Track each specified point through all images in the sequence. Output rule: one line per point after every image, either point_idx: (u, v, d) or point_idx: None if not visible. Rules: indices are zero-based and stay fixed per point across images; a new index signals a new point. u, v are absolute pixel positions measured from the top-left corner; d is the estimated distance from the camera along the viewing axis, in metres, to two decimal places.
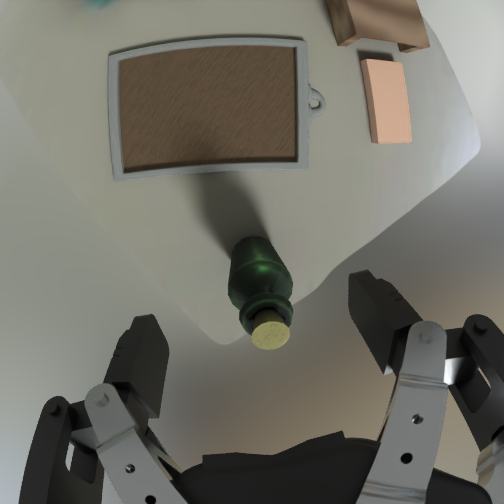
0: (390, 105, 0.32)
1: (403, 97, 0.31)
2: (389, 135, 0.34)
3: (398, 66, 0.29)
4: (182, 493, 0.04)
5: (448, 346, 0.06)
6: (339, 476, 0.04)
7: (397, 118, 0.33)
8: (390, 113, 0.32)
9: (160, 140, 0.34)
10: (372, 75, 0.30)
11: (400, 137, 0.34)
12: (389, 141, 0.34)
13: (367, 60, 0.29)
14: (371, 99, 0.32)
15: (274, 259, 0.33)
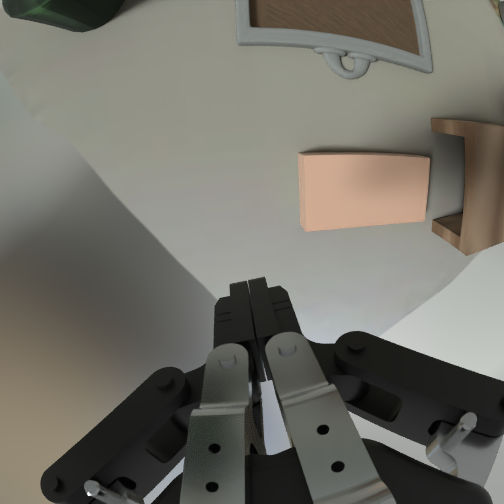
0: (367, 189, 0.22)
1: (379, 217, 0.23)
2: (318, 180, 0.21)
3: (420, 214, 0.23)
4: (248, 494, 0.03)
5: None
6: None
7: (347, 200, 0.22)
8: (355, 187, 0.22)
9: None
10: (409, 162, 0.21)
11: (314, 204, 0.22)
12: (307, 180, 0.21)
13: (428, 159, 0.21)
14: (374, 154, 0.21)
15: None
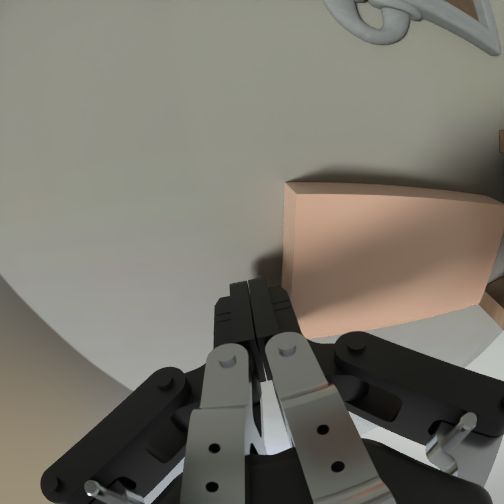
0: (415, 263, 0.11)
1: (422, 308, 0.12)
2: (325, 250, 0.10)
3: (477, 295, 0.12)
4: (248, 494, 0.03)
5: None
6: None
7: (375, 287, 0.11)
8: (395, 261, 0.10)
9: None
10: (485, 213, 0.10)
11: (310, 297, 0.11)
12: (300, 250, 0.10)
13: None
14: (435, 195, 0.10)
15: None
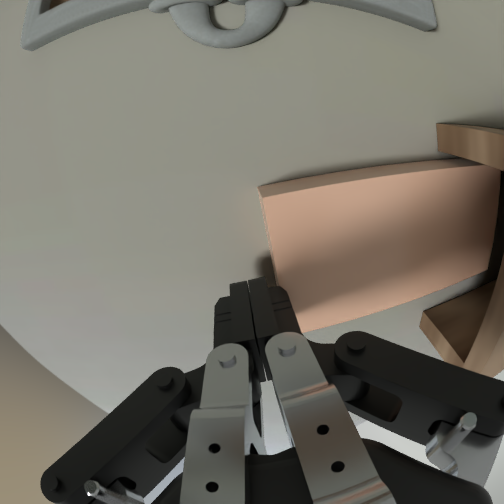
0: (405, 242, 0.10)
1: (423, 285, 0.12)
2: (303, 245, 0.10)
3: (483, 261, 0.12)
4: (248, 494, 0.03)
5: None
6: None
7: (366, 272, 0.11)
8: (381, 243, 0.10)
9: None
10: (474, 176, 0.09)
11: (299, 292, 0.11)
12: (279, 249, 0.10)
13: None
14: (414, 168, 0.10)
15: None
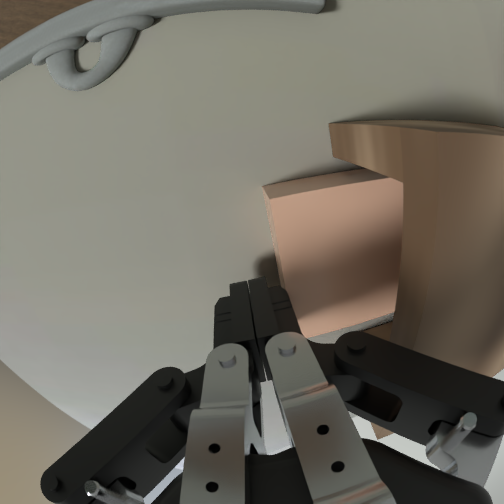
0: None
1: None
2: (311, 248, 0.10)
3: None
4: (248, 494, 0.03)
5: None
6: None
7: (373, 275, 0.11)
8: (389, 246, 0.10)
9: None
10: None
11: (306, 296, 0.11)
12: (286, 252, 0.10)
13: None
14: None
15: None
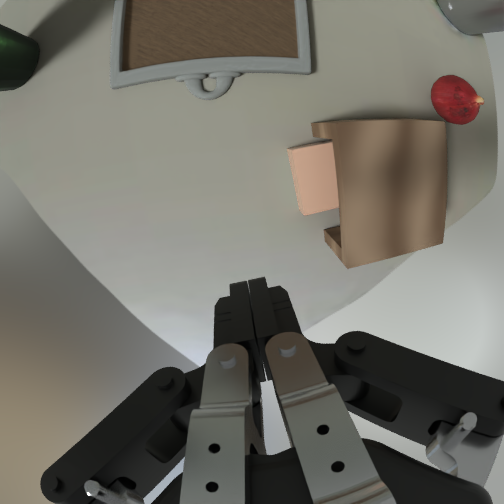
0: None
1: None
2: (308, 169, 0.24)
3: None
4: (248, 494, 0.03)
5: None
6: None
7: (336, 183, 0.25)
8: None
9: None
10: None
11: (308, 191, 0.25)
12: (298, 170, 0.24)
13: None
14: None
15: None
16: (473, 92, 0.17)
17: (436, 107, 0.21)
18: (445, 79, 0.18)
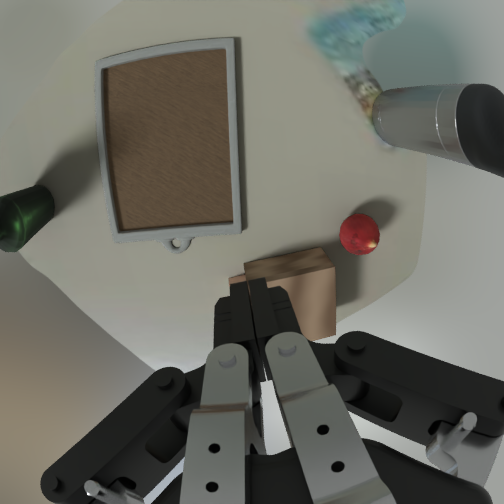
0: None
1: None
2: None
3: None
4: (248, 494, 0.03)
5: None
6: None
7: None
8: None
9: (129, 100, 0.29)
10: None
11: None
12: None
13: None
14: None
15: (28, 232, 0.27)
16: (369, 237, 0.34)
17: (341, 242, 0.38)
18: (349, 224, 0.35)
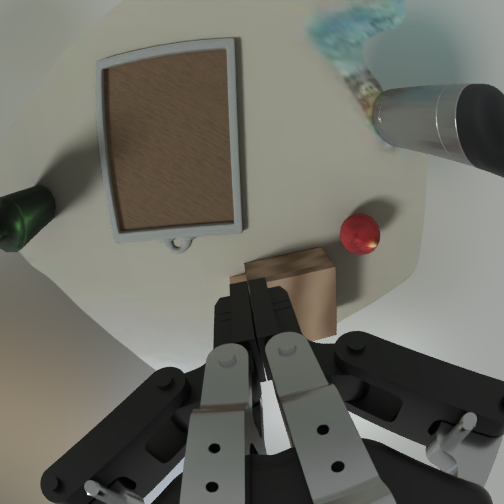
0: None
1: None
2: None
3: None
4: (248, 494, 0.03)
5: None
6: None
7: None
8: None
9: (130, 100, 0.30)
10: None
11: None
12: None
13: None
14: None
15: (29, 232, 0.27)
16: (369, 237, 0.34)
17: (341, 242, 0.38)
18: (349, 224, 0.35)
